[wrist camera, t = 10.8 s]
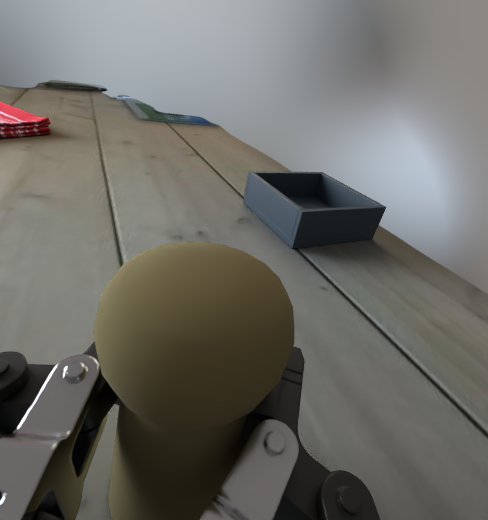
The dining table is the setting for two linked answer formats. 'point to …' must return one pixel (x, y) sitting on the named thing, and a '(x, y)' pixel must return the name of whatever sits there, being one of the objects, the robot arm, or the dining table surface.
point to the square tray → (311, 208)
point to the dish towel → (21, 122)
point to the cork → (187, 370)
